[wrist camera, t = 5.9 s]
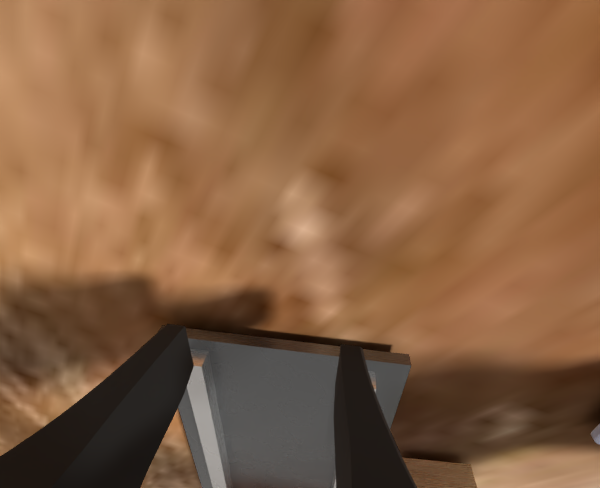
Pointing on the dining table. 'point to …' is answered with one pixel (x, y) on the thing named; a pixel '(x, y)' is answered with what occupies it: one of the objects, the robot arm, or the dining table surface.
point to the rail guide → (271, 408)
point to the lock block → (440, 474)
